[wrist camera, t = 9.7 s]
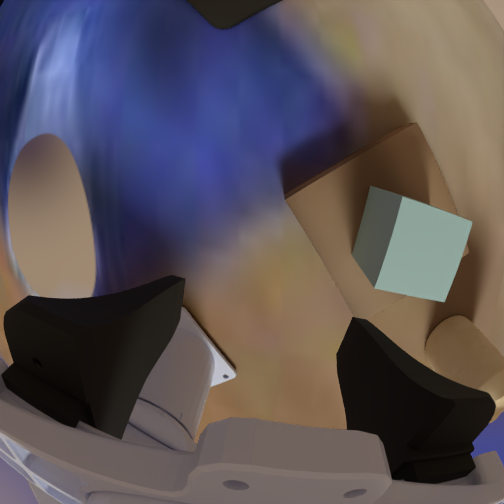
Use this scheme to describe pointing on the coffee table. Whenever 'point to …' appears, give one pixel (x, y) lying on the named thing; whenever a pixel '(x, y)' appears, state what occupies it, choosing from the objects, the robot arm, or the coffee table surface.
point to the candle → (467, 358)
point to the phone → (229, 10)
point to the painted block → (409, 245)
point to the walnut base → (353, 204)
